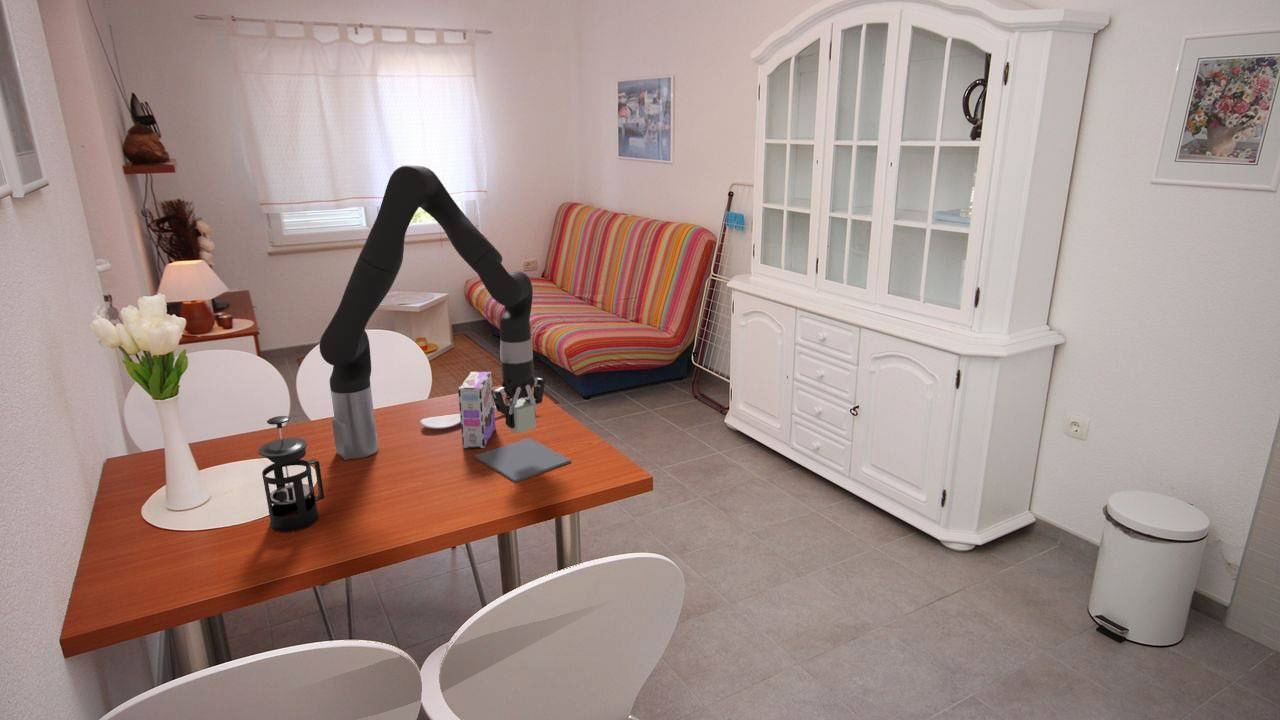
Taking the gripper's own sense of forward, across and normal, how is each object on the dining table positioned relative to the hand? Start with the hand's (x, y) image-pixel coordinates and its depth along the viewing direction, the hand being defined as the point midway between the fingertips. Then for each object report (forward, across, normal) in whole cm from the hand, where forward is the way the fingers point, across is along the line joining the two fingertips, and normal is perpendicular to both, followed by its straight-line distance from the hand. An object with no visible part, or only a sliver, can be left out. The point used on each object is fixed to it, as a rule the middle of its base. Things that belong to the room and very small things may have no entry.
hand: (521, 424), depth 179 cm
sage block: (+1, 0, 0) cm, 1 cm away
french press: (+9, +51, -7) cm, 52 cm away
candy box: (+10, +1, -19) cm, 21 cm away
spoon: (+10, -6, -31) cm, 33 cm away
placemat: (+9, 0, 0) cm, 9 cm away
